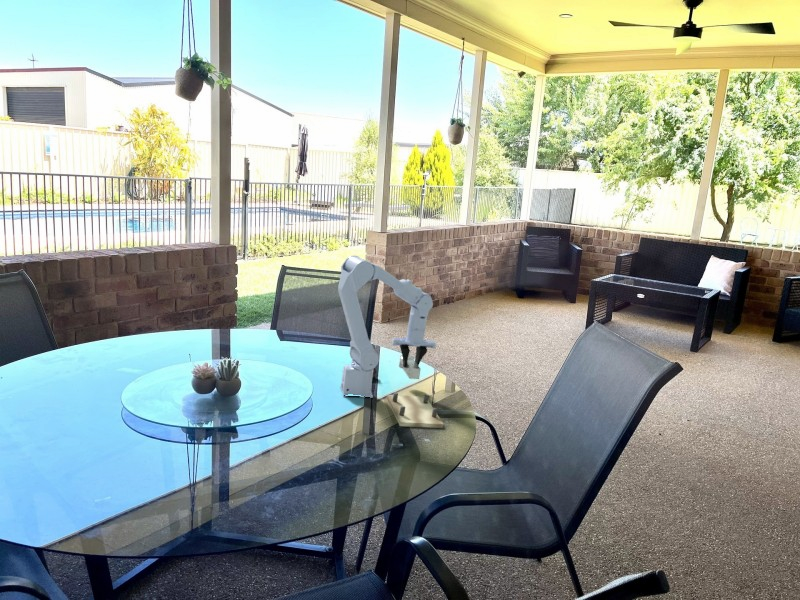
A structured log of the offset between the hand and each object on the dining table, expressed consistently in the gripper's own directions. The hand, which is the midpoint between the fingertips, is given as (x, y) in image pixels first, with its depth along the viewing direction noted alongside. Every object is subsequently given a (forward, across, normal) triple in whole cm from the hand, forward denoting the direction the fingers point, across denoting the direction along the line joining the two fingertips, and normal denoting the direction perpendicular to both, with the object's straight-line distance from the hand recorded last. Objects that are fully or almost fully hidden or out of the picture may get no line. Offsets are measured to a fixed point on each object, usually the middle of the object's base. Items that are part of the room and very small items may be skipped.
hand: (410, 367), depth 192 cm
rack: (+8, -2, -17) cm, 19 cm away
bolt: (+9, -12, +17) cm, 22 cm away
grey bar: (+2, 0, 0) cm, 2 cm away
